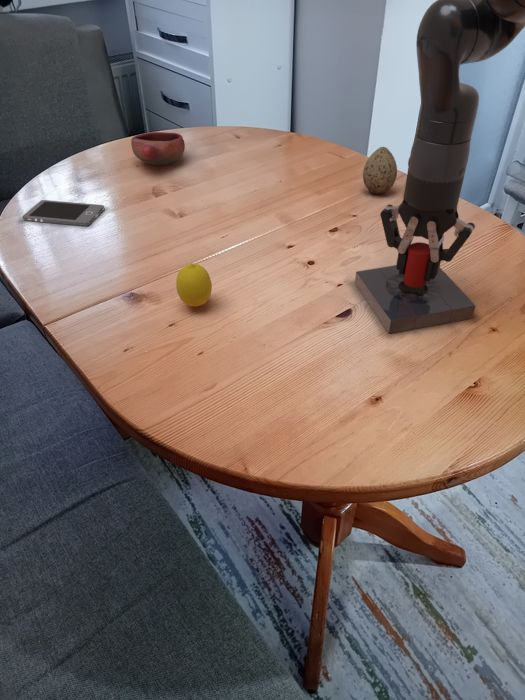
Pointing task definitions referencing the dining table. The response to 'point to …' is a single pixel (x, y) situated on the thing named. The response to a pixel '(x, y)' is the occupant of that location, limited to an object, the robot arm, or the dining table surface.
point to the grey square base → (412, 300)
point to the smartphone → (64, 212)
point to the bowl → (158, 147)
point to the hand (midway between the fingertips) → (415, 274)
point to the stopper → (417, 265)
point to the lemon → (193, 285)
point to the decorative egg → (380, 171)
